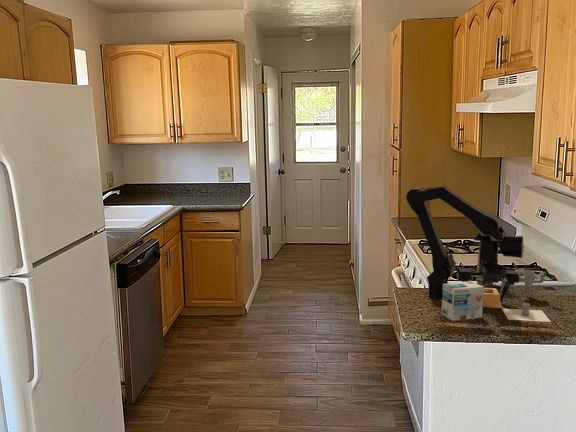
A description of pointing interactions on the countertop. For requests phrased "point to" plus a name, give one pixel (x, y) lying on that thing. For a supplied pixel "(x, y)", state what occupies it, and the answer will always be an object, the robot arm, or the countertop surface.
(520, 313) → the hub board
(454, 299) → the light bulb box
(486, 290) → the stand
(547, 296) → the countertop surface
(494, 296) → the collar
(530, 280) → the mechanical component
